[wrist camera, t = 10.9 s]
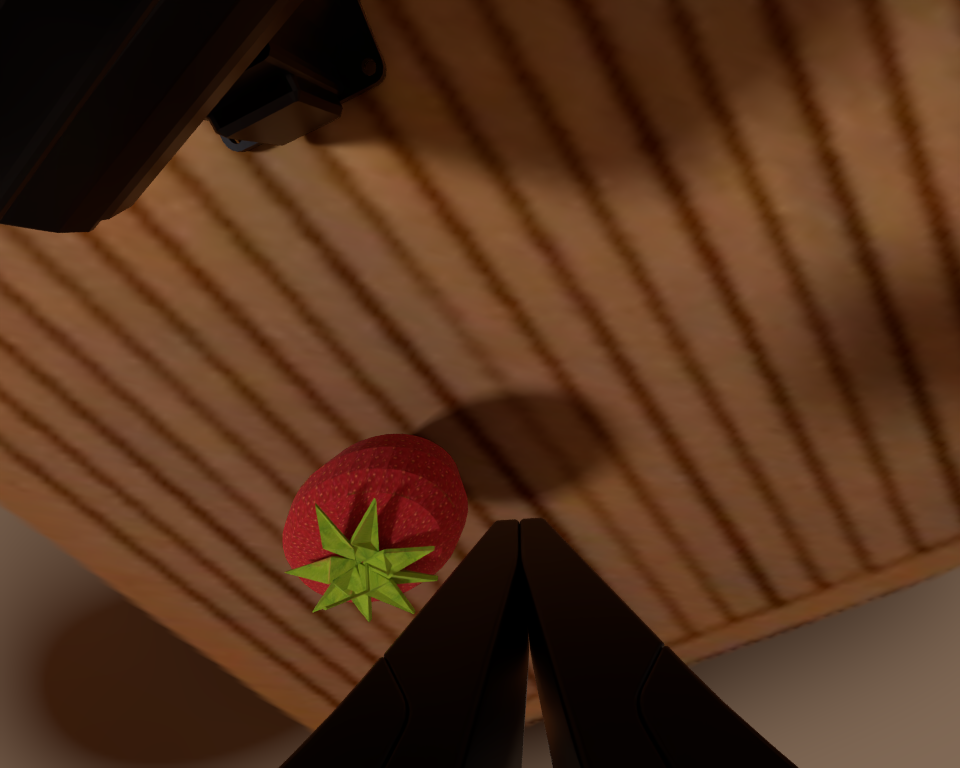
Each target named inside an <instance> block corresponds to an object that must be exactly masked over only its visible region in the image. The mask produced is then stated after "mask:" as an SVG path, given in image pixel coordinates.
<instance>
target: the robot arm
mask: <svg viewBox="0 0 960 768" xmlns="http://www.w3.org/2000/svg"><path fill="white" fill-rule="evenodd" d="M371 60H372V61H374V62H375V63H376V72H375V73H374V74H373V75H371V76H368V75H367V74H366V73H365V69H364V68H365V64H366V63H367V62H368V61H371ZM385 76H386V66H385V62H384V60H383V57H382V55H381V53H380V50H379V48H378V45H377V43H376V40H375V38H374V35H373V33H372V30H371V28H370V26H369V23H368V21H367V18H366V16H365V13H364V11H363V8H362V6H361V3H360V1H359V0H0V224H4V225H10V226H17V227H23V228H29V229H35V230H41V231H48V232H55V233H69V232H90V231H92V230H94V228H95V227H96V226H97V225H98V224H99V222H100V221H101V220H106V219H110V218H112V217H114V216H115V215H117V214H119V213H120V212H122V211H124V210H126V209H127V208H129V207H131V206H132V205H133V204H134V203H135V202H136V200H137V199H138V198H139V197H140V196H141V194H142V193H143V192H144V191H145V190H146V188H147V187H148V186H149V185H150V184H151V182H152V181H153V180H154V179H155V178H156V176H157V175H158V174H159V173H160V172H161V170H162V169H163V168H164V167H165V166H166V164H167V163H168V162H169V161H170V160H171V158H172V157H173V156H174V155H175V154H176V152H177V151H178V150H179V149H180V148H181V146H182V145H183V144H184V143H185V142H186V140H187V139H188V138H189V137H190V136H191V134H192V133H193V132H194V131H195V130H196V128H197V127H198V126H199V125H200V124H201V122H202V121H203V120H207V121H209V122H210V123H211V125H212V127H213V129H214V131H215V132H216V133H217V134H219V135H220V137H221V138H222V140H223V142H224V143H225V145H226V146H227V147H228V148H230V149H231V150H233V151H237V152H245V151H249V150H251V149H253V148H255V147H257V146H259V145H261V144H263V143H267V144H275V145H285V144H287V143H289V142H291V141H293V140H295V139H297V138H299V137H301V136H303V135H305V134H307V133H309V132H311V131H313V130H315V129H317V128H319V127H321V126H323V125H325V124H327V123H329V122H331V121H333V120H335V119H337V118H339V117H340V116H341V113H342V110H343V108H342V105H341V104H342V103H344V102H346V101H348V100H350V99H352V98H354V97H356V96H358V95H360V94H362V93H363V92H365V91H367V90H369V89H371V88H373V87H375V86H377V85H379V84H380V83H381V82H383V80H384V78H385ZM235 139H236V140H241V142H240V143H239V144H238V143H237V142H236V141H235ZM528 634H529V635H528ZM529 643H530V651H531V657H532V663H533V669H534V674H535V679H536V684H537V689H538V694H539V699H540V704H541V710H542V715H543V720H544V725H545V730H546V735H547V740H548V745H549V750H550V756H551V761H552V765H553V768H798V767H797V766H796V765H795V764H794V763H792V762H791V761H790V760H789V759H788V758H787V757H785V756H784V755H783V754H782V753H781V752H780V751H778V750H777V749H776V748H775V747H774V746H773V745H771V744H770V743H769V742H768V741H767V740H766V739H765V738H764V737H762V736H761V735H760V734H759V733H758V732H757V731H756V730H755V729H753V728H752V727H751V726H750V725H749V724H748V723H747V722H745V721H744V720H743V719H742V718H741V717H740V716H739V715H738V714H737V713H736V712H734V711H733V710H732V709H731V708H730V707H729V706H728V705H726V704H725V703H724V702H723V701H722V700H721V699H720V698H719V697H718V696H717V695H716V694H715V693H714V692H713V691H712V690H711V689H710V688H709V687H708V686H707V685H706V684H705V683H704V682H703V681H702V680H701V679H700V678H699V677H698V676H697V675H696V674H694V672H693V671H691V669H689V667H688V666H687V665H686V664H685V663H684V662H683V661H682V660H681V659H680V658H679V657H678V656H677V655H676V654H675V653H674V652H673V651H672V650H671V649H670V648H669V647H668V646H664V643H663V642H662V641H661V640H660V639H659V638H658V637H657V636H656V634H655V633H654V632H653V631H652V630H651V629H650V628H649V627H648V626H647V625H646V624H645V623H644V622H643V621H642V620H641V619H640V618H639V617H638V616H637V615H636V614H635V613H634V612H633V611H632V610H631V609H630V608H629V606H628V605H627V604H626V603H625V602H624V601H623V600H622V599H621V598H620V597H619V596H618V595H617V594H616V593H615V592H614V591H613V590H612V589H611V588H610V587H609V586H608V585H607V584H606V583H605V582H604V581H603V580H602V578H601V577H600V576H599V575H598V574H597V573H596V572H595V571H594V570H593V569H592V568H591V567H590V566H589V565H588V564H587V563H586V562H585V561H584V560H583V559H582V558H581V557H580V556H579V555H578V554H577V553H576V552H575V551H574V549H573V548H572V547H571V546H570V545H569V544H568V543H567V542H566V541H565V540H564V539H563V538H562V537H561V536H560V535H559V534H558V533H557V532H556V531H555V530H554V529H553V528H552V527H551V526H550V525H549V524H548V523H547V521H546V520H545V519H543V518H529V519H522V520H521V521H520V524H519V522H518V520H515V519H514V520H499V521H496V522H495V523H494V524H493V525H492V526H491V527H490V528H489V529H488V531H487V532H486V533H485V534H484V535H483V537H482V538H481V539H480V540H479V541H478V543H477V544H476V545H475V546H474V547H473V549H472V550H471V551H470V552H469V553H468V555H467V556H466V557H465V558H464V559H463V561H462V562H461V563H460V564H459V565H458V567H457V568H456V569H455V570H454V571H453V572H452V574H451V575H450V576H449V577H448V578H447V580H446V581H445V582H444V583H443V584H442V586H441V587H440V588H439V589H438V590H437V592H436V593H435V594H434V595H433V596H432V598H431V599H430V600H429V601H428V602H427V604H426V605H425V606H424V607H423V608H422V609H421V611H420V612H419V613H418V614H417V615H416V617H415V618H414V619H413V620H412V621H411V623H410V624H409V625H408V626H407V627H406V629H405V630H404V631H403V632H402V633H401V635H400V636H399V637H398V638H397V639H396V641H395V642H394V643H393V644H392V645H391V646H390V648H389V649H388V650H387V651H386V652H385V654H384V658H383V657H381V658H379V659H378V661H377V662H376V663H375V664H374V665H373V667H372V668H371V669H370V670H369V671H368V673H367V674H366V675H365V676H364V677H363V678H362V680H361V681H360V682H359V683H358V684H357V685H356V686H355V688H354V689H353V690H352V691H351V692H350V693H349V694H348V695H347V697H346V698H345V699H344V700H343V701H342V702H341V703H340V704H339V706H338V707H337V708H336V709H335V710H334V711H333V712H332V714H331V715H330V716H329V717H328V718H327V719H326V720H325V721H324V722H323V723H322V724H321V725H320V726H319V727H318V728H317V729H316V730H315V731H314V732H313V733H312V734H311V735H310V736H309V737H308V738H307V739H306V740H305V741H304V742H303V744H302V745H301V746H300V747H299V748H298V749H297V750H296V751H295V752H294V753H293V754H292V755H291V756H290V757H289V758H288V759H287V760H286V761H285V762H284V763H283V764H282V765H281V766H280V767H279V768H522V755H523V739H524V724H525V709H526V694H527V678H528V662H529Z"/></svg>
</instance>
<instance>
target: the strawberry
mask: <svg viewBox="0 0 960 768" xmlns="http://www.w3.org/2000/svg"><path fill="white" fill-rule="evenodd" d="M467 513H468V502H467V495H466V492H465V489H464V486H463V483H462V480H461V477H460V474H459V471H458V468H457V465H456V463H455V462H454V460H453V459H452V457H451V456H450V455H449V454H448V453H447V452H446V451H445V450H444V449H443V448H442V447H441V446H439V445H437V444H435V443H434V442H432V441H430V440H427V439H424V438H421V437H418V436H414V435H407V434H386V435H380V436H375V437H371V438H368V439H365V440H363V441H360V442H357V443H355V444H354V445H352V446H350V447H348V448H346V449H345V450H343V451H342V452H341V453H339V454H338V455H337V456H335V457H334V458H333V459H331V460H330V461H329V462H327V463H326V464H325V465H323V466H322V467H321V468H320V469H318V470H317V471H316V472H315V473H313V474H312V475H311V476H310V477H309V478H308V479H307V480H306V482H305V483H304V484H303V485H302V486H301V487H300V489H299V491H298V493H297V495H296V496H295V498H294V500H293V503H292V506H291V508H290V511H289V514H288V517H287V520H286V523H285V527H284V531H283V549H284V553H285V556H286V559H287V561H288V562H289V564H290V566H291V568H292V570H289V571H286V572H285V573H287V574H291V575H295V576H298V577H299V578H300V579H301V580H302V581H303V582H304V584H305V585H307V586H308V587H309V588H311V589H312V590H314V591H315V592H317V593H319V594H321V595H323V596H322V598H321V599H320V601H319V602H318V604H317V605H316V607H315V608H314V610H313V612H315V611H318V610H320V609H324V610H327V609H330V608H332V607H334V606H337V605H339V604H342V603H344V602H353V603H354V604H355V605H356V606H357V608H358V609H359V610H360V612H361V613H362V614H363V615H364V617H365V618H366V619H367V620H368V622H370V620H371V619H372V607H371V602H373V601H383V602H385V603H388V604H390V605H393V606H395V607H398V608H400V609H403V610H405V611H408V612H410V613H413V614H414V613H415V609H414V608H413V607H412V605H411V604H410V602H409V601H408V600H407V598H406V597H405V596H404V594H403V593H404V592H406V591H408V590H410V589H412V588H414V587H416V586H417V585H419V584H421V583H422V582H428V581H438V576H435V575H434V574H435V573H436V572H437V571H439V570H440V569H441V568H442V567H443V566H444V564H445V563H446V562H447V561H448V559H449V558H450V557H451V555H452V553H453V551H454V549H455V547H456V545H457V543H458V540H459V538H460V535H461V533H462V530H463V528H464V525H465V522H466V517H467ZM313 612H312V613H313Z"/></svg>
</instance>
